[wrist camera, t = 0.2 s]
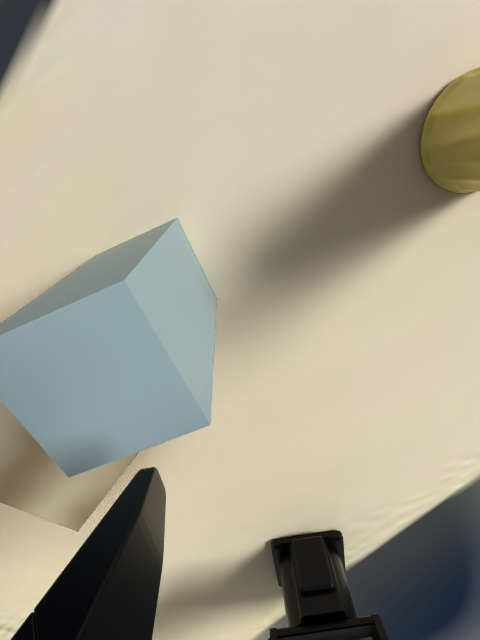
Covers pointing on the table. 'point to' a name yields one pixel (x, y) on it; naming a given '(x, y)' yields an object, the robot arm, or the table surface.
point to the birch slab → (49, 478)
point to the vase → (454, 136)
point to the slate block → (114, 353)
